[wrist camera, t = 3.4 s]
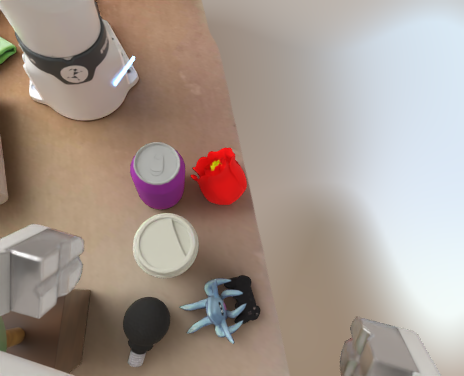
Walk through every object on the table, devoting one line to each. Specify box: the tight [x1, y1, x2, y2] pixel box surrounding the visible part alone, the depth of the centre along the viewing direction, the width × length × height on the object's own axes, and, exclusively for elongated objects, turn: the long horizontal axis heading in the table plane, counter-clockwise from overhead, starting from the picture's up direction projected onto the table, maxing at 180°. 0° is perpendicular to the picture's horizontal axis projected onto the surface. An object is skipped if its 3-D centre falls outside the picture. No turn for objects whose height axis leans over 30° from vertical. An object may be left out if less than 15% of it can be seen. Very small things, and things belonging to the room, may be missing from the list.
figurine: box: [179, 275, 260, 344], centre depth 47 cm, size 10×12×8 cm
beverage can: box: [130, 142, 185, 209], centre depth 49 cm, size 8×8×12 cm
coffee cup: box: [133, 213, 199, 278], centre depth 46 cm, size 9×8×12 cm
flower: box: [191, 148, 247, 205], centre depth 52 cm, size 8×8×8 cm
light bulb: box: [123, 297, 170, 367], centre depth 45 cm, size 6×6×10 cm
